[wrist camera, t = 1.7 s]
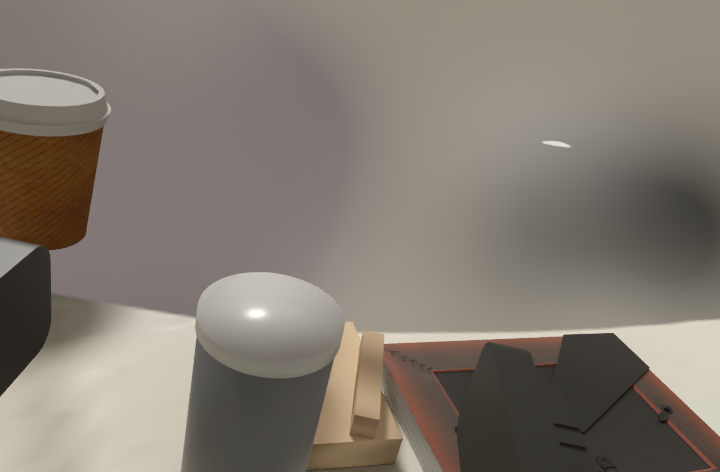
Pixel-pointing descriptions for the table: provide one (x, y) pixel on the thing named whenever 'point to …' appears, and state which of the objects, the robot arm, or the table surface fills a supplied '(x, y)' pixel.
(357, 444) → the stand
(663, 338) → the table surface
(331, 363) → the domed lid canister
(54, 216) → the disposable coffee cup
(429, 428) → the picture frame
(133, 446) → the table surface
